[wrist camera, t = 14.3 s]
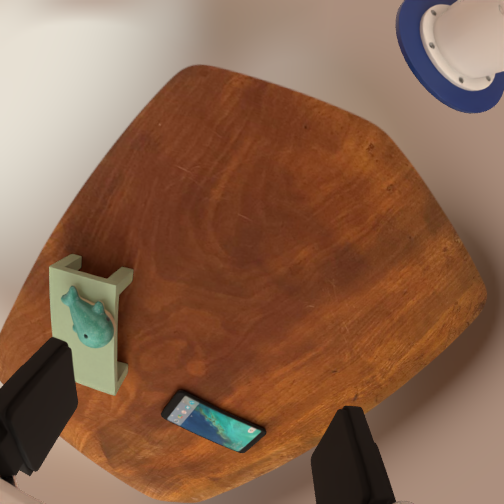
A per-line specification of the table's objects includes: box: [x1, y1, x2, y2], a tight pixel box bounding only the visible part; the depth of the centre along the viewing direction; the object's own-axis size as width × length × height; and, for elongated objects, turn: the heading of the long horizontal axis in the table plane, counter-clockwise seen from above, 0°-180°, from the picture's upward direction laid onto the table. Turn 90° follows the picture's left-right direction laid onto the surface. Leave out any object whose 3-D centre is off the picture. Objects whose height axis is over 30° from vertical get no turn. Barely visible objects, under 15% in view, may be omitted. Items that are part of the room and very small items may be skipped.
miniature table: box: [49, 254, 133, 396], centre depth 36 cm, size 16×9×6 cm, turn 168°
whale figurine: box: [61, 285, 116, 348], centre depth 30 cm, size 6×7×4 cm
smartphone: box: [161, 390, 266, 453], centre depth 42 cm, size 7×1×15 cm
